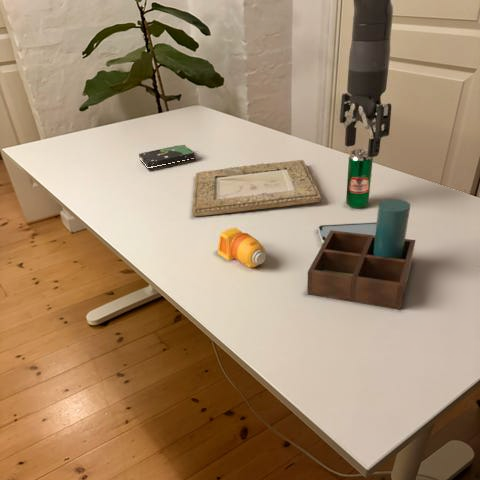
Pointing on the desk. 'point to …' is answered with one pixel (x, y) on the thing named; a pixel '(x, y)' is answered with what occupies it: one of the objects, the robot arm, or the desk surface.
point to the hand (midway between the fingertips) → (360, 150)
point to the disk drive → (167, 157)
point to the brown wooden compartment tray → (359, 271)
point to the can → (391, 228)
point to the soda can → (359, 178)
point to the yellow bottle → (241, 247)
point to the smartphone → (347, 229)
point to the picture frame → (253, 188)
